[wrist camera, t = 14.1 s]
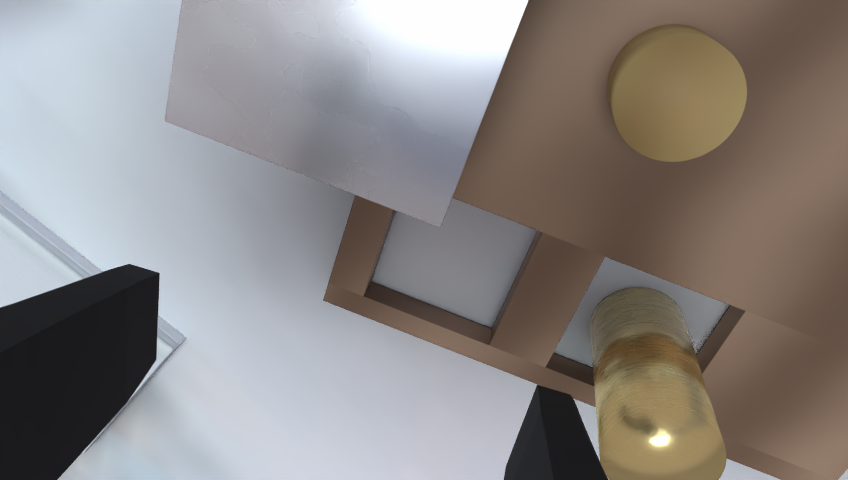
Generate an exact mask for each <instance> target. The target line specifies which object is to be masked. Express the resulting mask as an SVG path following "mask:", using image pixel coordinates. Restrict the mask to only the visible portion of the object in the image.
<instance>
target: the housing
mask: <svg viewBox="0 0 848 480" xmlns="http://www.w3.org/2000/svg"><path fill="white" fill-rule="evenodd" d="M527 2H528V0H182V4H181V11H180V18H179V25H178V32H177V39H176V46H175V53H174V60H173V67H172V74H171V81H170V88H169V95H168V101H167V108H166V115H165V121H166V122H169V123H171V124H174V125H176V126H179V127H182V128H184V129H187V130H189V131H192V132H194V133H197V134H200V135H202V136H205V137H207V138H210V139H213V140H215V141H218V142H220V143H223V144H225V145H228V146H231V147H233V148H236V149H238V150H241V151H244V152H246V153H249V154H251V155H254V156H256V157H259V158H262V159H264V160H267V161H269V162H272V163H274V164H277V165H280V166H282V167H285V168H287V169H290V170H293V171H295V172H298V173H300V174H303V175H305V176H308V177H311V178H313V179H316V180H318V181H321V182H323V183H326V184H329V185H331V186H334V187H336V188H339V189H342V190H344V191H347V192H349V193H352V194H354V195H357V196H360V197H362V198H365V199H367V200H370V201H373V202H375V203H378V204H380V205H383V206H385V207H388V208H391V209H393V210H396V211H398V212H401V213H403V214H406V215H409V216H411V217H414V218H416V219H419V220H422V221H424V222H427V223H429V224H432V225H434V226H437V227H441V224H442V222H443V219H444V217H445V214H446V211H447V209H448V206H449V204H450V201H451V199H452V196H453V194H454V191H455V188H456V186H457V183H458V181H459V178H460V176H461V173H462V171H463V168H464V165H465V163H466V160H467V158H468V155H469V153H470V150H471V147H472V144H473V142H474V139H475V137H476V134H477V132H478V129H479V126H480V124H481V121H482V119H483V116H484V113H485V111H486V108H487V106H488V103H489V101H490V98H491V95H492V93H493V90H494V88H495V85H496V82H497V80H498V77H499V75H500V72H501V70H502V67H503V64H504V62H505V59H506V57H507V54H508V51H509V49H510V46H511V44H512V41H513V39H514V36H515V33H516V31H517V28H518V26H519V23H520V20H521V18H522V15H523V13H524V10H525V8H526V5H527Z"/></svg>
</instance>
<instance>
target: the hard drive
mask: <svg viewBox="0 0 848 480" xmlns="http://www.w3.org/2000/svg"><path fill="white" fill-rule="evenodd" d="M101 272H103V271H101V270H100V269H99V268H98V267H96V266H95V265H94V264H93V263H91V262H90V261H89V260H87V259H86V258H85V257H84V256H82V255H81V254H80V253H79V252H77V251H76V250H75V249H73V248H72V247H71V246H70V245H68V244H67V243H66V242H65V241H63V240H62V239H61V238H59V237H58V236H57V235H56V234H54V233H53V232H52V231H51V230H49V229H48V228H47V227H45V226H44V225H43V224H42V223H40V222H39V221H38V220H37V219H35V218H34V217H33V216H31V215H30V214H29V213H28V212H26V211H25V210H24V209H23V208H21V207H20V206H19V205H17V204H16V203H15V202H14V201H12V200H11V199H10V198H9V197H7V196H6V195H5V194H3V193H2V192H1V191H0V307H3V306H7V305H10V304H13V303H16V302H19V301H22V300H25V299H27V298H30V297H33V296H36V295H39V294H42V293H45V292H47V291H50V290H53V289H56V288H59V287H62V286H65V285H67V284H70V283H73V282H76V281H79V280H81V279H84V278H87V277H90V276H93V275H96V274H99V273H101ZM185 338H186V337H185V336H184V335H182V334H181V333H180V332H179V331H177V330H176V329H175V328H174V327H172V326H171V325H170V324H169V323H167V322H166V321H165V320H163V319H162V318H161V317H160V316H158V329H157V358H156V361H155V363H154V364H153V366H152V367H151V369H150V370H149V372H148V373H147V375H146V376H145V378H144V379H143V381H142V382H141V384H140V385H139V386H138V388H137V389H136V391H135V392H134V393H133V395H132V396H131V398H130V399H129V400H128V402H127V403H126V404H125V405H124V407H123V408H122V409H121V410H120V411H119V412H118V413H117V415H116V416H115V417H114V418H113V419H112V420H111V421H110V422H109V423H108V425H107V426H106V427H105V428H104V429H103V430H102V431H101V432H100V433H99V435H98V436H97V437H96V438H95V439H94V440H93V441H92V442H91V443H90V444H89V445H88V447H87V448H86V449H85V450H84V451H83V452H82V454H84V453H85V452H86V451H87V450H88V449H89V448H90V447H91V446H92V445H93V444H94V443H95V441H96V440H97V439H98V438H99V437H100V436H101V435H102V433H103V432H104V431H105V430H106V429H107V428H108V427H109V425H110V424H111V423H112V422H113V421H114V420H115V419H116V417H117V416H118V415H119V414H120V413H121V412H122V411H123V409H124V408H125V407H126V406H127V405H128V404H129V403H130V401H131V400H132V399H133V398H134V397H135V396H136V395H137V393H138V392H139V391H140V390H141V389H142V388H143V387H144V385H145V384H146V383H147V382H148V381H149V380H150V379H151V377H152V376H153V375H154V374H155V373H156V372H157V370H158V369H159V368H160V367H161V366H162V365H163V364H164V362H165V361H166V360H167V359H168V358H169V357H170V355H171V354H172V353H173V352H174V351H175V350H176V349H177V348H178V346H179V345H180V344H181V343H182V342H183V341H184V340H185Z"/></svg>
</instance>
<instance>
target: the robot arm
mask: <svg viewBox="0 0 848 480" xmlns="http://www.w3.org/2000/svg"><path fill="white" fill-rule="evenodd" d="M158 300H159V273H158V272H154V271H151V270H147V269H144V268H141V267H137V266H134V265H131V264H127V265H124V266H120V267H117V268H114V269H111V270H107V271H104V272H101V273H99V274H96V275H93V276H90V277H87V278H84V279H81V280H79V281H76V282H73V283H70V284H67V285H65V286H62V287H59V288H56V289H53V290H50V291H47V292H45V293H42V294H39V295H36V296H33V297H30V298H27V299H25V300H22V301H19V302H16V303H13V304H10V305H7V306H3V307H0V480H57V479H58V478H59V477H60V476H61V475H62V474H63V473H64V472H65V471H66V469H67V468H68V467H69V466H70V465H71V464H72V463H73V462H74V461H75V460H76V459H77V457H78V456H79V455H80V454H81V453H82V452H83V451H84V450H85V449H86V448H87V447H88V445H89V444H90V443H91V442H92V441H93V440H94V439H95V438H96V437H97V436H98V435H99V433H100V432H101V431H102V430H103V429H104V428H105V427H106V426H107V425H108V423H109V422H110V421H111V420H112V419H113V418H114V417H115V416H116V415H117V413H118V412H119V411H120V410H121V409H122V408H123V407H124V405H125V404H126V403H127V402H128V400H129V399H130V398H131V396H132V395H133V393H134V392H135V391H136V389H137V388H138V386H139V385H140V384H141V382H142V381H143V379H144V378H145V376H146V375H147V373H148V372H149V370H150V369H151V367H152V366H153V364H154V363H155V361H156V358H157V329H158ZM504 480H608V478H607V476H606V474H605V472H604V470H603V468H602V466H601V463H600V461H599V459H598V457H597V454H596V452H595V450H594V448H593V445H592V443H591V441H590V438H589V436H588V434H587V431H586V429H585V426H584V424H583V421H582V419H581V416H580V414H579V411H578V409H577V406H576V404H575V401H574V400H573V398H572V396H571V395H570V394H567V393H564V392H560V391H557V390H553V389H550V388H547V387H543V386H540V385H537V387H536V389H535V392H534V395H533V397H532V400H531V403H530V405H529V408H528V410H527V413H526V416H525V418H524V421H523V423H522V426H521V429H520V431H519V434H518V436H517V439H516V442H515V444H514V447H513V449H512V452H511V455H510V457H509V460H508V463H507V465H506V470H505V476H504Z"/></svg>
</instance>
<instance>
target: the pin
mask: <svg viewBox="0 0 848 480" xmlns="http://www.w3.org/2000/svg"><path fill="white" fill-rule="evenodd" d="M590 335H591V348H592V361H593V374H594V387H595V400H596V414H597V427H598V440H599V453H600V462H601V465H602V468H603V470H604V472H605V474H606V476H607V477H608V478H609V479H610V480H718V479H719V478H720V477H721V475H722V473H723V471H724V468H725V465H726V449H725V445H724V442H723V439H722V436H721V433H720V429H719V426H718V423H717V420H716V417H715V414H714V411H713V407H712V404H711V401H710V398H709V395H708V392H707V389H706V385H705V382H704V379H703V376H702V373H701V370H700V367H699V363H698V360H697V357H696V354H695V351H694V348H693V345H692V341H691V338H690V335H689V332H688V329H687V326H686V323H685V319H684V316H683V314H682V311H681V310H680V308H679V306H678V305H677V304H676V303H675V302H674V301H673V300H672V299H671V298H670V297H668V296H667V295H665V294H663V293H661V292H659V291H656V290H653V289H649V288H628V289H623V290H620V291H617V292H615V293H613V294H611V295H609V296H608V297H606V298H605V299H604V300H602V301H601V302H600V303H599V305H598V306H597V307H596V309H595V310H594V312H593V314H592V317H591V321H590Z"/></svg>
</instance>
